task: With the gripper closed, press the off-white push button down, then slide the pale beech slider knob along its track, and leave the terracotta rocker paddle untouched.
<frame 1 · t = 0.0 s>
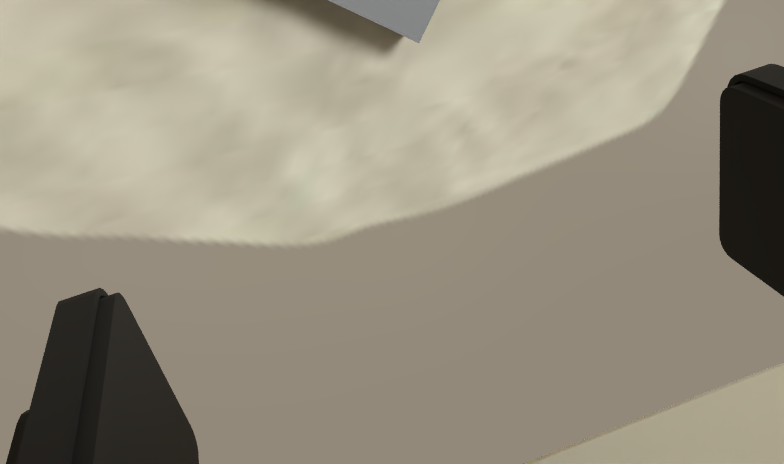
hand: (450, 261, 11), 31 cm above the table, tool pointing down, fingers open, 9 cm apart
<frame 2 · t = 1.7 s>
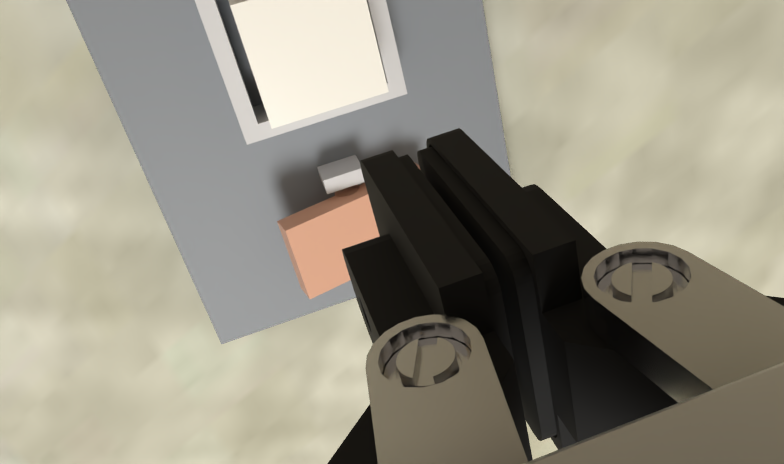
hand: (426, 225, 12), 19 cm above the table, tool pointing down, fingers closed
rocker paddle: (361, 228, 29), point 4 cm above the table, hinge at 12.0°
switch panel: (286, 11, 28), on the table
push button: (307, 42, 24), point 5 cm above the table, slide at 0.0 cm
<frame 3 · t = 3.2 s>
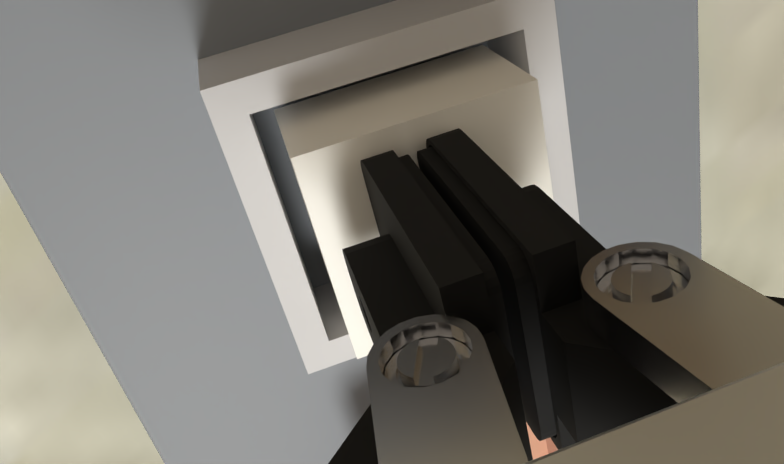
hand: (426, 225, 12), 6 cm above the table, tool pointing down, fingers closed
switch panel: (365, 118, 17), on the table
push button: (421, 198, 13), point 5 cm above the table, slide at 0.7 cm, touching gripper
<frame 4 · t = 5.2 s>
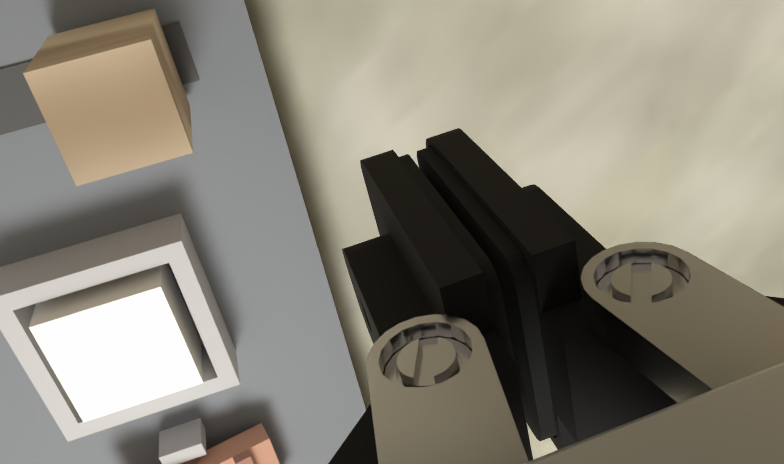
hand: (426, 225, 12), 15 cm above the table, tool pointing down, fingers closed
slider knob: (117, 91, 19), point 5 cm above the table, slide at 0.0 cm
switch panel: (129, 276, 27), on the table
push button: (123, 335, 24), point 4 cm above the table, slide at 1.4 cm
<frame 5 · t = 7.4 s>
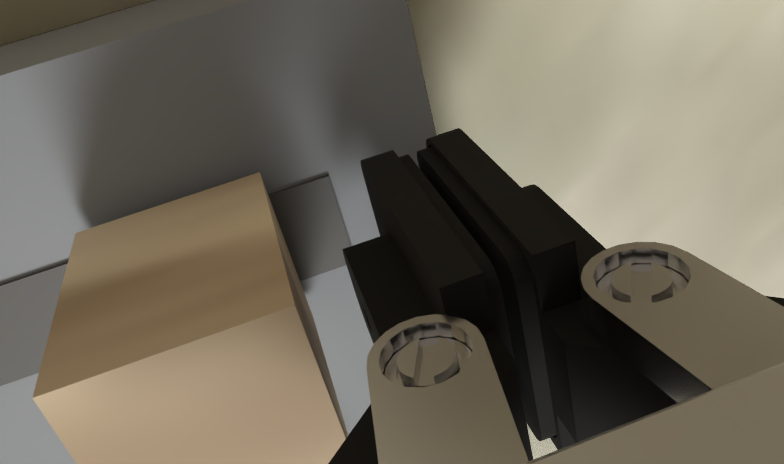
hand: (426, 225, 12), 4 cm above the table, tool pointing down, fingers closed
slider knob: (207, 347, 11), point 5 cm above the table, slide at 0.6 cm, touching gripper
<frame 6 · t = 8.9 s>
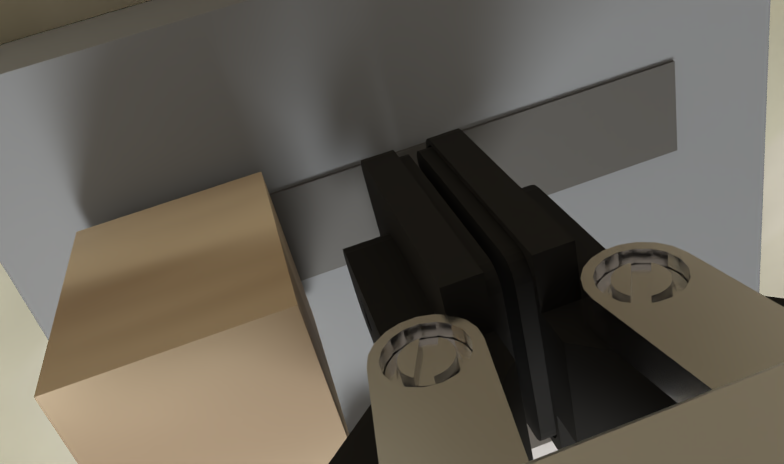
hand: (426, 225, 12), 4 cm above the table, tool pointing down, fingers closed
slider knob: (208, 346, 11), point 5 cm above the table, slide at 7.1 cm, touching gripper
switch panel: (457, 412, 19), on the table
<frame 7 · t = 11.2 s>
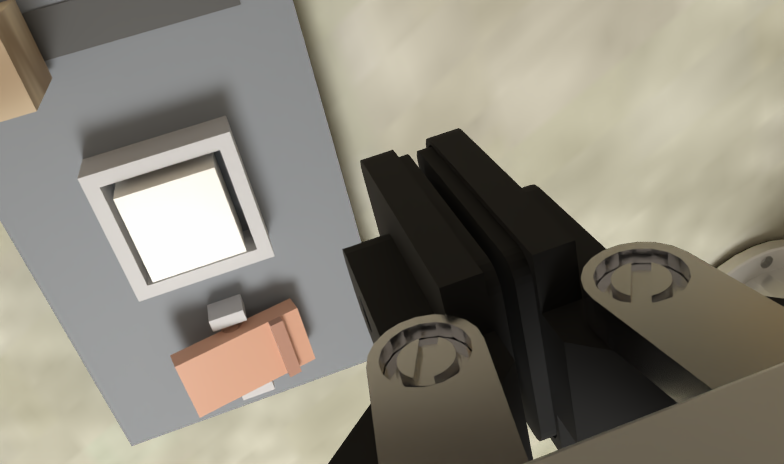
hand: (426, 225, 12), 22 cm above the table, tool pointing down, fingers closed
rocker paddle: (245, 356, 34), point 4 cm above the table, hinge at 12.0°
switch panel: (180, 176, 33), on the table
push button: (182, 213, 30), point 4 cm above the table, slide at 1.4 cm
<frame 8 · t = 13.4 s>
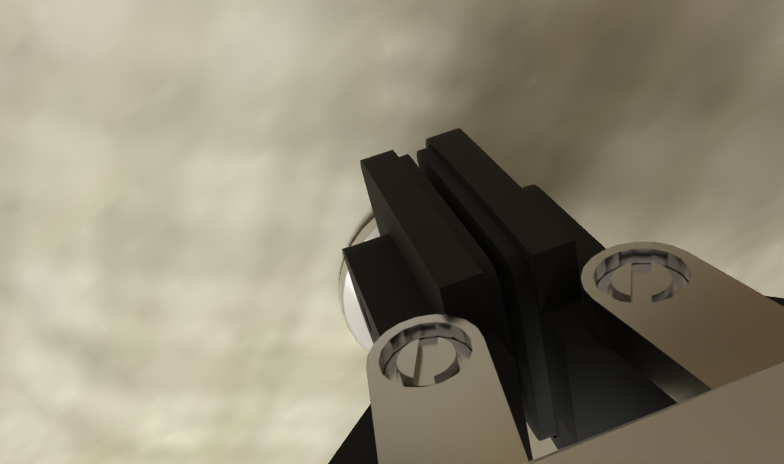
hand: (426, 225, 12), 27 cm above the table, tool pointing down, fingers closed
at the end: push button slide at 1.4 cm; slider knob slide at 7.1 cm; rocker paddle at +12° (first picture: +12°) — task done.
